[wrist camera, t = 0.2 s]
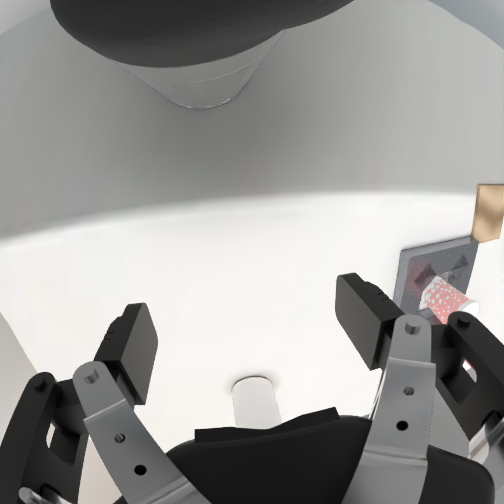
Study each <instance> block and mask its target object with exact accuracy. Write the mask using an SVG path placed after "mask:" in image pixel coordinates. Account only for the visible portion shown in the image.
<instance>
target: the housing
mask: <svg viewBox="0 0 504 504" xmlns="http://www.w3.org/2000/svg"><path fill="white" fill-rule="evenodd" d="M478 244H479V240H477V239H476V238H474V237H472V236H468V237H464V238H459V239H455V240H450V241H446V242H441V243H436V244H432V245H427V246H422V247H417V248H413V249H408V250H403V251H401V255H400V262H399V268H398V275H397V281H396V286H395V292H394V297H393V302H394V303H395V304H396V305H397V306H398V307H399V308H400V309H401V310H402V311H403V312H404V313H405V314H406V315H407V314H413V315H418V316H421V317H423V318H425V319H426V320H427V321H428V322H429V323H430V325H439V324H443V323H442V322H441V321H440V320H439V319H438V317H437V316H436V315H435V314H434V313H433V311H432V310H431V309H430V308H427V309H424V310H421V311H418V308H419V305H420V301H421V297H422V293H423V291H424V290H425V289H426V288H427V287H428V285H429V284H430V283H431V282H432V280H433V279H434V278H435V277H436V276H437V275H439V274H442V273H445V272H448V273H449V279H448V283H449V284H450V285H451V286H453V287H454V288H456V289H457V290H458V291H460V292H461V293H462V294H464V295H465V294H466V290H467V287H468V284H469V280H470V277H471V273H472V269H473V265H474V261H475V257H476V253H477V248H478Z"/></svg>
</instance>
